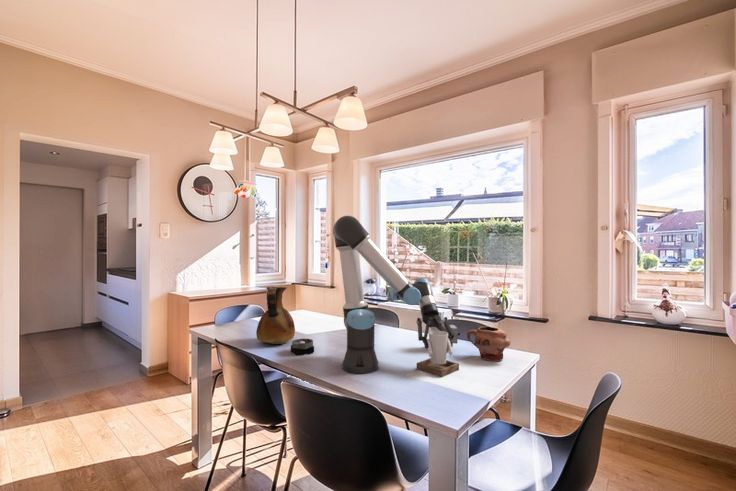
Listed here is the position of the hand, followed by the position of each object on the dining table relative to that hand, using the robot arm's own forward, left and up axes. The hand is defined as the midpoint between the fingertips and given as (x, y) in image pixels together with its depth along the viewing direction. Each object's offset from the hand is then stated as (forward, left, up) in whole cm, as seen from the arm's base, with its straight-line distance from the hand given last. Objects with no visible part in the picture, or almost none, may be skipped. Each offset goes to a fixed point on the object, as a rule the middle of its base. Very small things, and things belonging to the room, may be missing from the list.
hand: (441, 354), depth 141 cm
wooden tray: (+2, +3, -7) cm, 8 cm away
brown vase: (-27, +85, -8) cm, 90 cm away
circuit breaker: (+30, +18, -8) cm, 36 cm away
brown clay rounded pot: (+32, -4, -8) cm, 33 cm away
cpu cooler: (-26, +61, -8) cm, 67 cm away
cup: (+2, +3, -4) cm, 6 cm away
